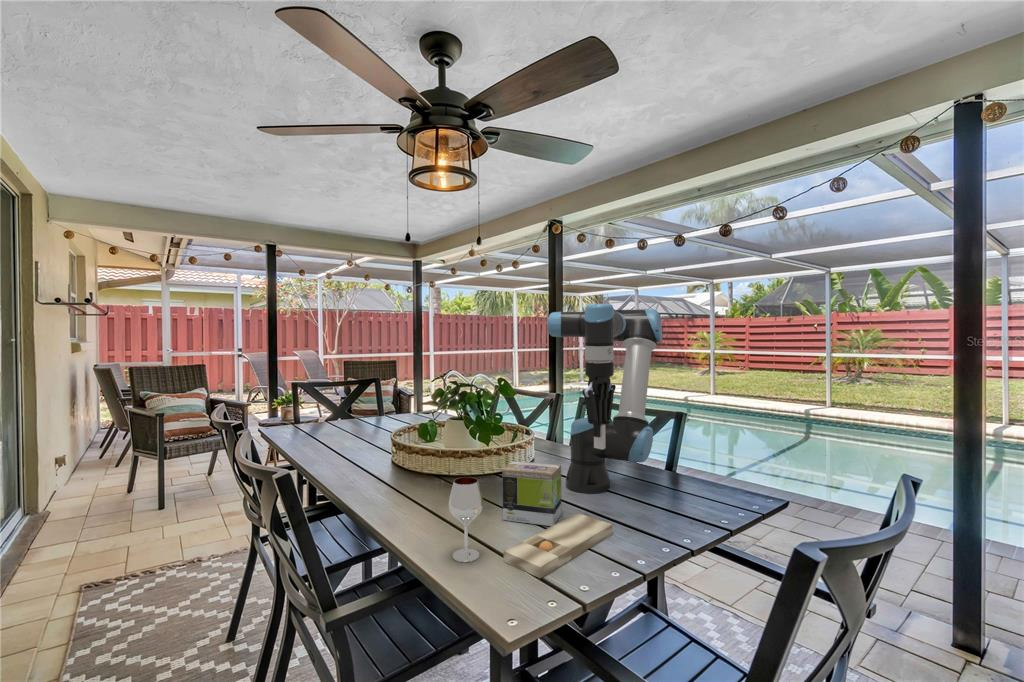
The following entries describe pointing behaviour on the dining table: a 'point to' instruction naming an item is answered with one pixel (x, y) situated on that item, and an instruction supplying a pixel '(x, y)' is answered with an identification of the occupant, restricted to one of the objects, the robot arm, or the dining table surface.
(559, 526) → the board
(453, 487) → the wineglass
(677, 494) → the dining table surface
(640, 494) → the dining table surface
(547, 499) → the tea box
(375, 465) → the dining table surface
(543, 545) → the ball
